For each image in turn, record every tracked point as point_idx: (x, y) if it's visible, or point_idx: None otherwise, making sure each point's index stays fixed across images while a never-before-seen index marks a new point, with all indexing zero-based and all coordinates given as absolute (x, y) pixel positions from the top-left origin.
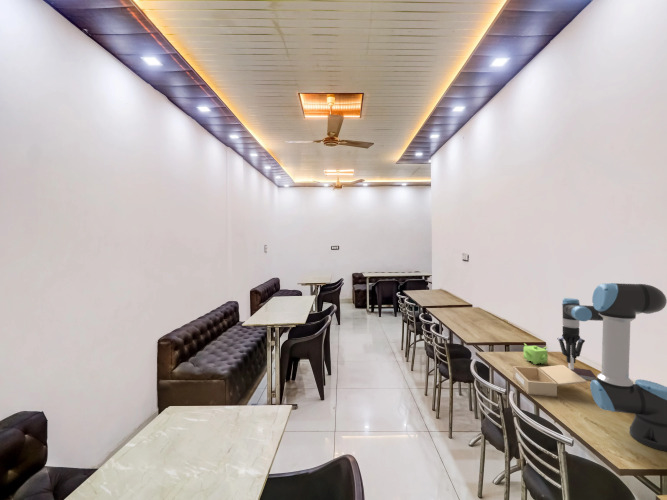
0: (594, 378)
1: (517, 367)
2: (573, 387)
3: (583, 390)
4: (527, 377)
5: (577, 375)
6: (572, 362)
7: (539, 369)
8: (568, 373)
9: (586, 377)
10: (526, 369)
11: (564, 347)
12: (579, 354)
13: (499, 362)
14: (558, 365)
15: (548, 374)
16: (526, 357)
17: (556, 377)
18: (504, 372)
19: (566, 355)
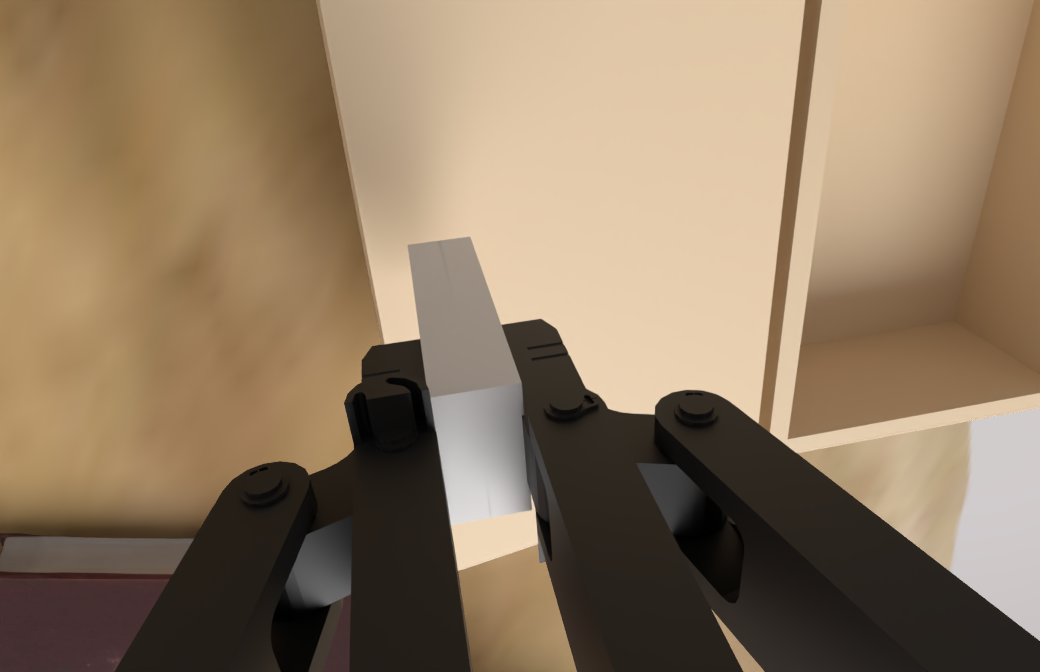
0: (12, 561)
1: (1026, 390)
2: (361, 243)
3: (255, 174)
4: (826, 347)
5: (366, 120)
6: (453, 316)
7: (785, 397)
8: (486, 233)
9: (109, 561)
10: (903, 399)
11: (936, 642)
12: (215, 530)
13: None
14: (504, 547)
15: (771, 214)
16: None
17: (729, 72)
18: (958, 441)
19: (674, 404)
